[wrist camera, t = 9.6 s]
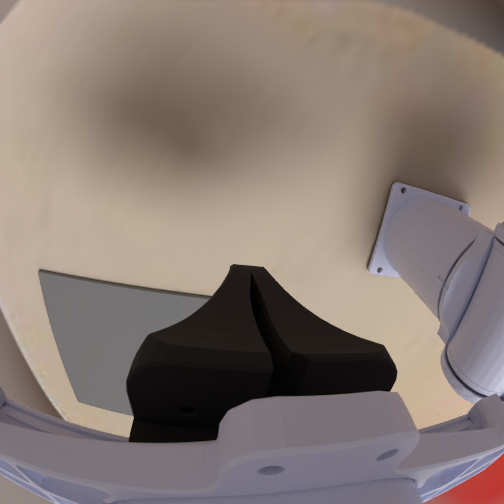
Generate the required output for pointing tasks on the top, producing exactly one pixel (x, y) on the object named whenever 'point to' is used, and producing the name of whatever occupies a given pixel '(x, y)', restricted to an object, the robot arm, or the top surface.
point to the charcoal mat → (106, 331)
